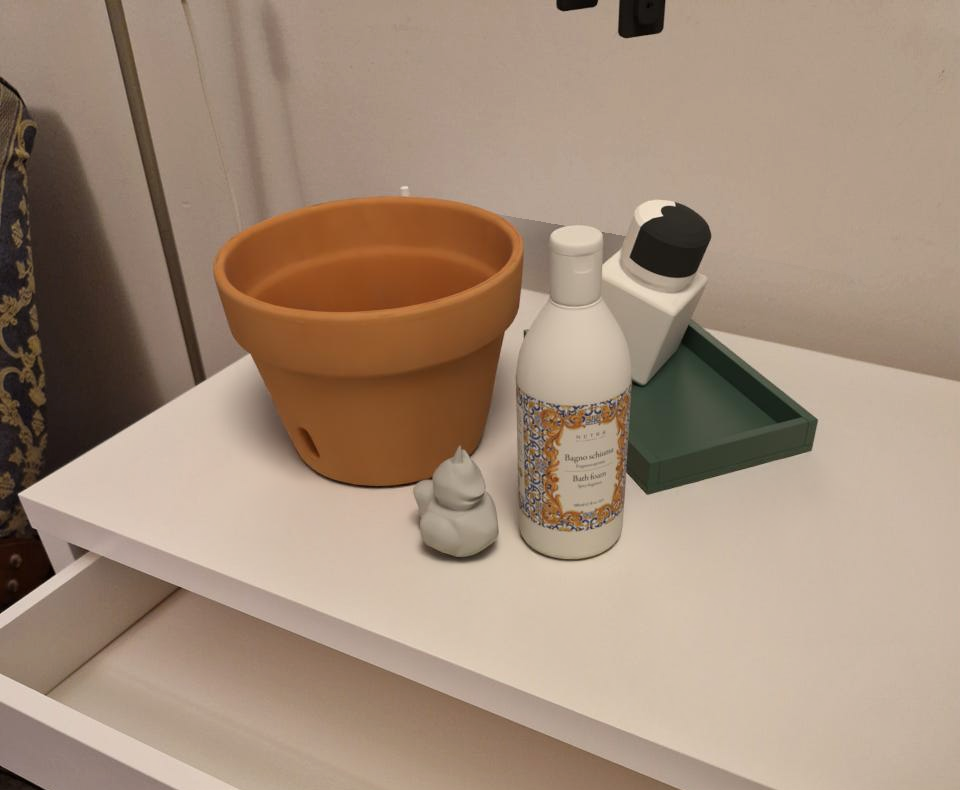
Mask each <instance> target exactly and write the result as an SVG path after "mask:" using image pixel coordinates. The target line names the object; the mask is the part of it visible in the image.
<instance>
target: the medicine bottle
mask: <svg viewBox="0 0 960 790" xmlns="http://www.w3.org/2000/svg"><path fill="white" fill-rule="evenodd" d="M633 212H634V213H633V215H632V218H631V222H630V223H629V226H628V229H627V231H626V234H625V236H624V237H625V238H624V240H623V243H622V246H621V248H620V249H619V250H618V251H617V252H615V253H614V254H613V255H612V256H611V257H609V258H608V259H607V260H606V261H605V262H604V263H602V285H601V298H602V299H603V301H604V302H605V304H606V305H607V307H608V308H609V310H610V312H611V313H612V315H613V316H614V318H615V319H616V321H617V323H618V324H619V326H620V328H621V330H622V332H623V334H624V336H625V339H626V342H627V345H628V348H629V352H630V358H631V366H632V381H634V382H636V383H637V384H639V385H641V386H643V385H646V383H647V382H648V381H649V380H650V379H651V378H652V377H653V376H654V375H655V374H656V372H657V371H658V370H659V369H660V368H661V367H662V366H663V365H664V364H665V363H666V361H667V360H668V359H669V358H670V357H671V356H672V355H673V354H674V353H675V352H676V350H677V349H678V347H679V345H680V343H681V340H682V338H683V336H684V334H685V331H686V329H687V327H688V325H689V322H690V320H691V319H693V316H694V314H695V311H696V310H697V307H698V304H699V302H700V300H701V298H702V295H703V294H704V291H705V289H706V286H707V284H708V282H709V281H708V280H709V279H708V277H707V276H706V275H704V274H703V273H700V272H699V271H698V270H699V268H700V265H701V263H702V260H703V258H704V256H705V253H706V251H707V250H708V247H709V244H710V242H711V240H712V231H711V228H710V225H709V223H708V222H707V221H706V219H705V218H704V217H703V216H702V215H700V213H698V212H696V211H695V210H694V209H692V208H690V207H689V206H687V205H685V204H683V203H679V202H677V201H673V200H665V199H651V200H647V201H645V202H643V203H641V204H639V205H637V207H636V208H635V209H634V211H633Z"/></svg>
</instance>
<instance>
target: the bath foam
mask: <svg viewBox="0 0 960 790" xmlns="http://www.w3.org/2000/svg"><path fill="white" fill-rule="evenodd" d="M548 241H549V250H548V251H549V253H548V254H549V257H548V258H549V263H548V264H549V265H548V266H549V267H548V268H549V271H548V272H549V278H548V279H549V280H548V282H549V283H548V285H549V286H548V287H549V297H548V299H547V300H546V302H545V304H544V305H543V307H542V308H541V309H540V311H539V312H538V314H537V316H535V318H534V320H533V321H532V323H531V325H530V326H529V328H528V329H529V330H528V332H527V333H526V336H525V338H524V337H523V340H522V343H521V345H520V349H519V352H518V357H517V361H516V371H515V400H516V401H515V403H516V405H515V406H516V408H515V409H516V411H515V412H516V440H517V441H516V447H517V449H516V450H517V489H518V493H517V494H518V518H519V519H518V521H519V522H518V523H519V531H520V535H521V536H522V538H523V540H524V541H525V543H526V544H528V546H529V547H531V548H532V549H533V550H535V551H537V552H539V553H540V554H542V555H545V556H547V557H551V558H555V559H562V560H580V559H581V560H582V559H587V558H592V557H595V556H597V555H600V554H602V553H604V552H606V551H607V550H609V549H610V548H611V547H613V546H614V544H616V542H617V541H618V540H619V538H620V536H621V534H622V532H623V531H622V530H623V525H624V524H623V523H624V510H625V508H624V507H625V500H626V499H625V498H626V497H625V496H626V481H627V471H626V468H627V452H628V436H629V420H630V404H631V388H632V366H631V358H630V352H629V348H628V345H627V342H626V339H625V336H624V334H623V332H622V330H621V328H620V326H619V324H618V323H617V321H616V319H615V318H614V316H613V315H612V313H611V312H610V310H609V308H608V307H607V305H606V304H605V302H604V301H603V299H602V298H601V285H602V265H603V259H604V258H603V257H604V235H603V233H602V232H601V230H599V228H596V227H593V226H589V225H583V224H582V225H581V224H580V225H579V224H573V225H566V226H562V227H559V228H557V229H555V230H554V231H553V232H551V233H550V236H549V240H548Z"/></svg>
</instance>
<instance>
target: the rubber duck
mask: <svg viewBox="0 0 960 790" xmlns="http://www.w3.org/2000/svg"><path fill="white" fill-rule="evenodd" d="M431 478H432V479H424V480H420V481H417V482H416V484H415V485H414V486H413V488H412V492H413V494H412V495H413V497H414V499H415V501H416V505H417V508H418V515H419V517H420V521H419V532H420V537H421V539H422V541H423V542H424V544H425V545H427V546H429V547H431V548H432V549H435V550H436V551H438V552H440V553H443V554H448V555H450V556H453V557H457V558H466V557H470V556H473V555H476V554H478V553H480V552H482V551H483V550H485V549H486V548H488V547H489V546H490V545H491V544H493V543H494V542H495V541H496V540H497V539H498V537H499V530H500V529H499V520H498V515H497V514H498V513H497V508H496V504H495V501H494V499H493V497H492V496H491V494H490V493H489V492H488V491H486V487H487V486H486V482H485V479H484V476H483V474H482V471H481V469H480V467H479V466H478V465H477V464H476V462H475V461H474V460H473V459H472V458H471V457H470V455H468V454H467V452H466V451H465V450H464V449H463V450H461V446H459V447H458V449H457V451H456V453H455V455H454V457H452V458H450V459H447V460H446V461H444V462H443V463H441V464H440V465H439V467H438V468H437V469H436V470H435V472H434V474H433V477H431Z"/></svg>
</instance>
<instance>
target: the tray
mask: <svg viewBox="0 0 960 790" xmlns="http://www.w3.org/2000/svg"><path fill="white" fill-rule="evenodd" d="M528 330H529V328H527V329H523V339H524V338H525V336H526V333H527V332H528ZM818 423H819V419H818V418H817V417H816V416H814V414H812V413H810V411H808V410H807V409H806V408H804V407H803V406H802V405H801V404H799V403H798V402H797V401H796V400H795V399H793V398H792V397H791V396H789V395H788V393H786V392H785V391H783V390H782V389H781V388H779V387H778V386H777V385H776V384H774V383H773V382H772V381H770V380H769V379H768V378H766V377H765V376H764V375H763V374H762V373H761V372H759V370H756V369H755V368H754V367H753V366H752V365H750V364H749V363H748V362H746V361H745V360H744V359H743V358H742V357H741V356H739V355H737V354H736V352H734V351H732V350H731V348H729V347H728V346H726V345H725V344H724V343H722V342H721V341H720V340H719V339H718V338H716V337H715V336H714V335H713V334H711V333H710V332H709V331H707V330H706V329H705V328H704V327H703V326H701V324H699V323H698V322H696V321H695V320H694V319H693V318H691V320H690V322H689V325H688V327H687V329H686V331H685V334H684V336H683V338H682V340H681V343H680V345H679V347H678V349H677V350H676V352H675V353H674V354H673V355H672V356H671V357H670V358H669V359H668V360H667V361H666V363H665V364H664V365H663V366H662V367H661V368H660V369H659V370H658V371H657V372H656V374H655V375H654V376H653V377H652V378H651V379H650V380H649V381H648V382H647V383H646V385H643V386H641V385H639V384H637V383H636V382H634V381H632V388H631V404H630V420H629V436H628V452H627V468H626V473H627V474H628V475H629V476H630V477H631V478H632V479H633V480H634V481H635V482H636V484H637V485H638V486H639V487H640V488H641V490H643V492H644V493H646V495H649V494H653V493H657V492H662V491H665V490H669V489H672V488H677V487H680V486H683V485H684V486H685V485H687V484H690V483H694V482H698V481H702V480H703V481H704V480H706V479H710V478H714V477H717V476H721V475H725V474H729V473H732V472H737V471H741V470H743V469H747V468H751V467H754V466H758V465H762V464H766V463H769V462H773V461H776V460H777V461H778V460H781V459H784V458H788V457H792V456H795V455H799V454H803V453H806V452H810V451H812V450H813V447H814V442H815V438H816V433H817V428H818Z"/></svg>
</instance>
